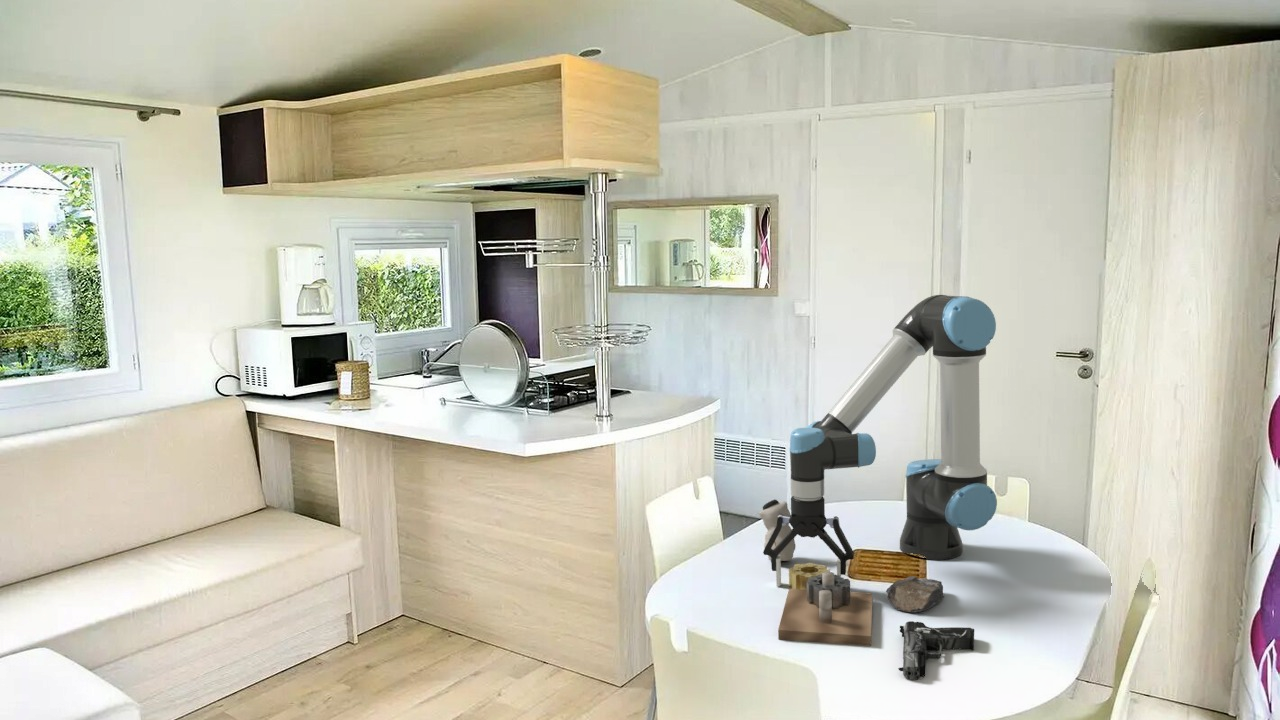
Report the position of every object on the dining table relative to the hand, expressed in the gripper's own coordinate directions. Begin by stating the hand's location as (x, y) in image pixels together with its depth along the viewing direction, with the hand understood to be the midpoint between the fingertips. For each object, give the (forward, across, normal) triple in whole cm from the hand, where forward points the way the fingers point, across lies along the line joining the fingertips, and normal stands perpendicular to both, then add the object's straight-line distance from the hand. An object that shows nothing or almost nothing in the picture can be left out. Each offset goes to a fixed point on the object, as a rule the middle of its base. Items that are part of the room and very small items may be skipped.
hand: (808, 586), depth 208 cm
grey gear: (-2, -5, +12) cm, 14 cm away
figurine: (0, +9, -16) cm, 18 cm away
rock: (0, -23, +5) cm, 24 cm away
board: (0, -5, +18) cm, 19 cm away
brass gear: (0, 0, 0) cm, 0 cm away
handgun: (+1, -26, +32) cm, 41 cm away
